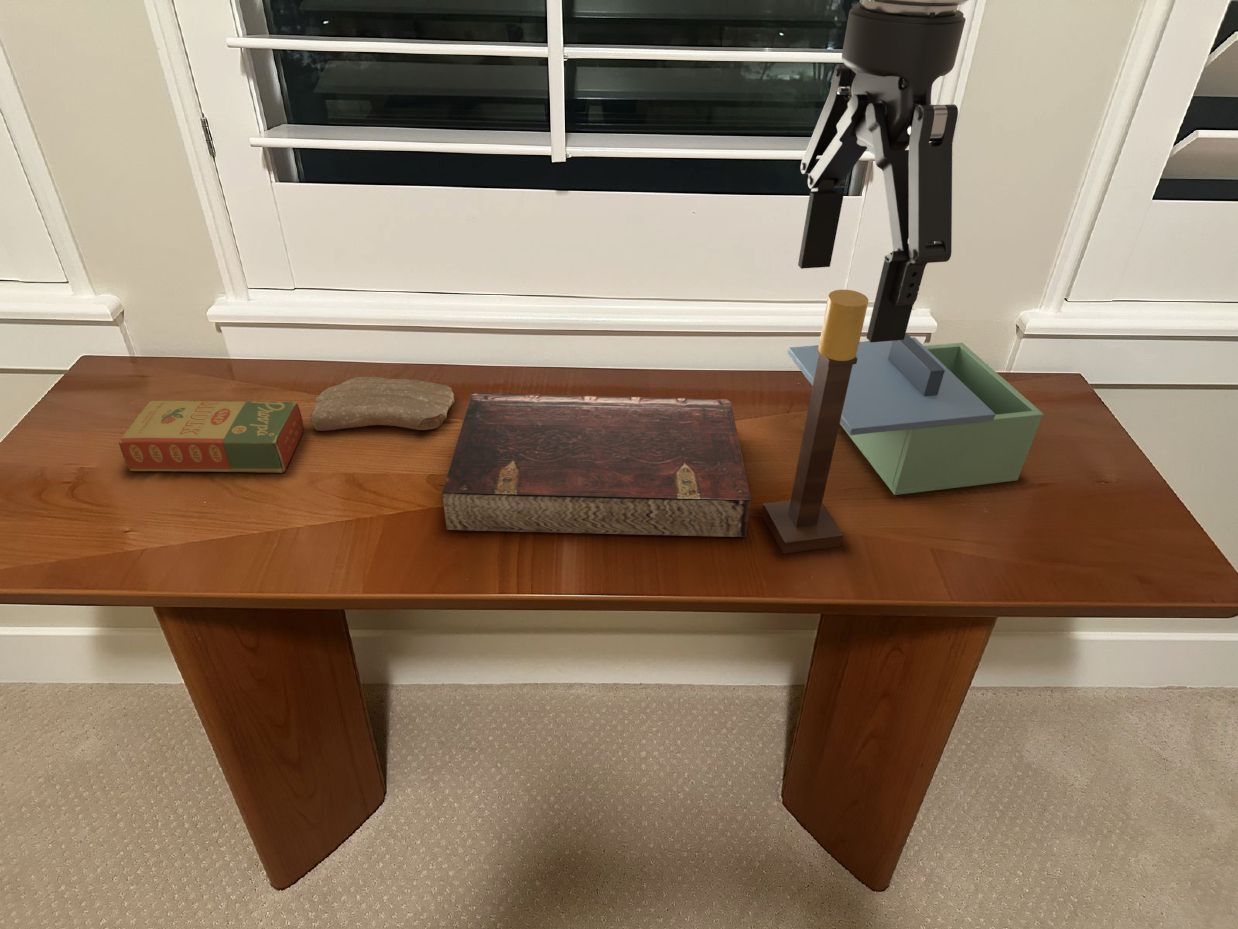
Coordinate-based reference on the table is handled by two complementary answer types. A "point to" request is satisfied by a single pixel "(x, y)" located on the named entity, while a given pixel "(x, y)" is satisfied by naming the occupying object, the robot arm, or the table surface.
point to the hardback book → (598, 466)
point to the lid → (899, 388)
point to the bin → (958, 436)
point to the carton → (213, 436)
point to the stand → (813, 467)
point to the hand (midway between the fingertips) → (846, 300)
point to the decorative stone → (382, 404)
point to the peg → (842, 325)
